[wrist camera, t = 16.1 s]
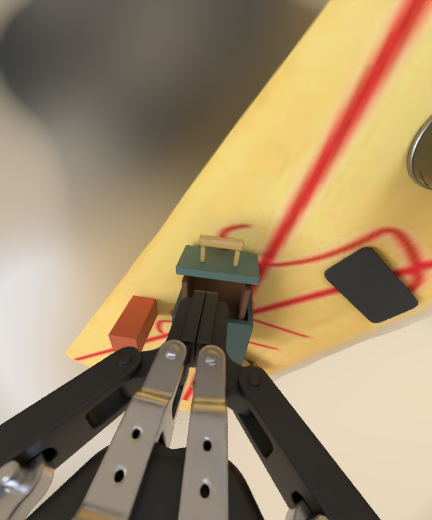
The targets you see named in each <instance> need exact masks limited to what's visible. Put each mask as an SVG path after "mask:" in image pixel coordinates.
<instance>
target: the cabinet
mask: <svg viewBox="0 0 432 520" xmlns="http://www.w3.org/2000/svg"><path fill="white" fill-rule="evenodd" d="M181 301H182V288H181V291H180V294H179V297H178V299H177V302H176V305H175V307H174V310H173V313H172V323H173V320H174V317H175V314H176V312H177V309H178V306H179V303H180V302H181ZM252 328H253V309H252V291H251V292H250V297H249V301H248V305H247V309H246V314H245V318H244V321H243V320H236V319H229V318H228V326H227V339H226V351H227V354H228V356H229V357H230V358H231V359H232V360H233V361H234V362H236V363H238V364H240V365H242V364H243V361H244V357H245V354H246V350H247V346H248V343H249V339H250V336H251V332H252ZM195 361H196V360H195ZM194 367H195V365H194Z"/></svg>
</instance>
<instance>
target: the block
mask: <svg viewBox="0 0 432 520" xmlns="http://www.w3.org/2000/svg"><path fill="white" fill-rule="evenodd" d="M156 317H157V307H156V299H150V298H143V297H136V296H133V297H132V298H131V300H130V301H129V303H128V305H127V306H126V308H125V309H124V311H123V313H122V314H121V316H120V317H119V319H118V321H117V322H116V324H115V325H114V327H113V328H112V330H111V332H110V333H109V335H108V336H109V338H110V341H111V344H112V347H113V350H114V351H115V352H116V351H117V350H119V349H121V348H123V347H128V346H131V347H135V348H137V349H138V350H139V351H140V352H141V351H142V349H143V346H144V344H145V342H146V340H147V337H148V335H149V333H150V331H151V328H152V326H153V324H154V322H155V319H156Z"/></svg>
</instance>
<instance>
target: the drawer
mask: <svg viewBox="0 0 432 520" xmlns="http://www.w3.org/2000/svg"><path fill="white" fill-rule="evenodd" d="M199 246H201V247H198V246H190V245H186V246H185V249H184V251H183V253H182V255H181V257H180V259H179V262H178V264H177V266H176V274H179V275H184V277H183V280H182V300H183V299H184V298H185V297H189V298H192V297H193V293H194V290H201V291H206V294H207V291H209V292H216V293H218V301H219V302H226V304H227V306H228V309H229V313H228V318H229V319H236V320H243V321H244V318H245V314H246V309H247V305H248V301H249V297H250V292H251V284H253V285H258V283H259V279H260V276H259V265H258V255H257V254H253V253H245V252H240V251H242V249H243V240H238V239H230V238H222V237H214V236H206V235H200V239H199ZM206 247H214V248H222V249H230V250H235V251H229V250H221V249H213V248H206Z"/></svg>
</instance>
